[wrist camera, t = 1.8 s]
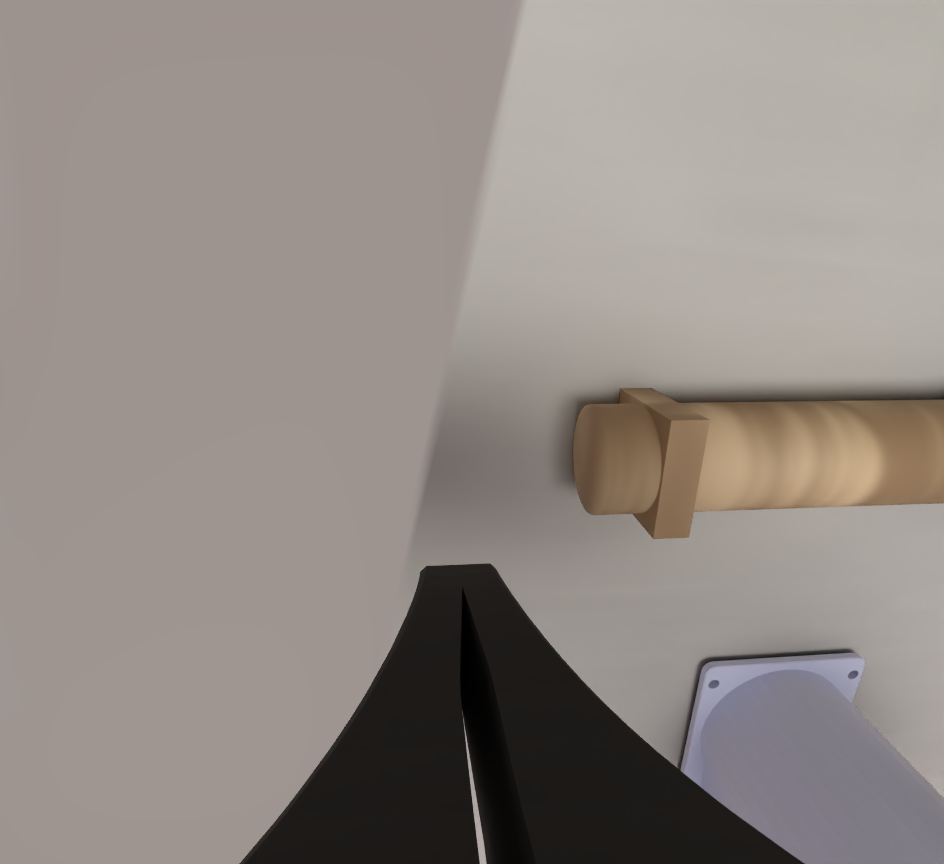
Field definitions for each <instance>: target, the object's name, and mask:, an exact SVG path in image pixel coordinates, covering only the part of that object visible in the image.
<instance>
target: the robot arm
mask: <svg viewBox="0 0 944 864" xmlns="http://www.w3.org/2000/svg"><path fill="white" fill-rule="evenodd" d="M864 667H865V661H864V659H863V658H862V657H861V656H860V655H858V654H857V653H839V654H823V655H807V656H791V657H775V658H759V659H743V660H728V661H712V662H709V663H707V664H705V665H704V666H703V668H702V670H701V675H700V680H699V684H698V689H697V694H696V699H695V703H694V708H693V713H692V718H691V722H690V727H689V732H688V737H687V741H686V746H685V751H684V756H683V760H682V765H681V770H679V769H678V768H677V767H675V766H674V765H673V764H672V763H670V762H669V761H668V760H667V759H665V758H664V757H663V756H662V755H660V754H659V753H658V752H657V751H656V750H655V749H653V748H652V747H651V746H650V745H649V744H648V743H647V742H646V741H644V740H643V739H642V738H641V737H640V736H639V735H638V734H637V733H635V732H634V731H633V730H632V729H631V728H630V727H629V726H628V725H627V724H626V723H625V722H623V721H622V720H621V719H620V718H619V717H618V716H617V715H616V714H615V713H614V712H613V711H612V710H611V709H610V708H609V707H608V706H607V705H606V704H605V703H604V702H603V701H602V700H601V699H600V698H599V697H598V696H597V695H596V694H595V693H594V692H593V691H592V690H591V689H590V688H589V687H588V686H587V685H586V684H585V683H584V682H583V681H582V680H581V679H580V678H579V676H578V675H577V674H576V673H575V672H574V671H573V670H572V669H571V668H570V666H569V665H568V664H567V663H566V662H565V661H564V660H563V659H562V658H561V656H560V655H559V654H558V653H557V652H556V651H555V649H554V648H553V647H552V646H551V645H550V643H549V642H548V641H547V640H546V638H545V637H544V636H543V635H542V633H541V632H540V631H539V630H538V628H537V627H536V626H535V625H534V623H533V622H532V621H531V620H530V618H529V617H528V616H527V614H526V613H525V612H524V610H523V609H522V608H521V606H520V605H519V603H518V602H517V601H516V599H515V598H514V596H513V595H512V594H511V592H510V591H509V589H508V588H507V586H506V585H505V583H504V582H503V580H502V578H501V577H500V575H499V573H498V572H497V570H496V568H494V567H493V566H492V565H491V564H467V565H444V566H426V567H425V568H424V569H423V570H422V571H421V572H420V578H419V582H418V586H417V589H416V592H415V595H414V598H413V601H412V603H411V606H410V608H409V611H408V613H407V616H406V618H405V620H404V622H403V624H402V626H401V629H400V631H399V633H398V635H397V637H396V639H395V641H394V644H393V646H392V648H391V650H390V651H389V653H388V655H387V657H386V659H385V661H384V662H383V664H382V666H381V668H380V670H379V671H378V673H377V675H376V677H375V679H374V681H373V682H372V684H371V686H370V688H369V689H368V691H367V693H366V694H365V696H364V698H363V699H362V701H361V703H360V704H359V706H358V707H357V709H356V711H355V712H354V714H353V715H352V717H351V718H350V720H349V721H348V723H347V724H346V726H345V727H344V729H343V731H342V732H341V734H340V735H339V736H338V738H337V739H336V741H335V743H334V744H333V745H332V747H331V748H330V750H329V751H328V752H327V754H326V755H325V757H324V758H323V759H322V761H321V762H320V764H319V765H318V766H317V767H316V769H315V770H314V771H313V773H312V774H311V776H310V777H309V778H308V780H307V781H306V782H305V784H304V785H303V787H302V788H301V789H300V791H299V792H298V793H297V794H296V796H295V797H294V798H293V800H292V801H291V802H290V804H289V805H288V806H287V807H286V809H285V810H284V811H283V813H282V814H281V815H280V816H279V817H278V819H277V820H276V821H275V823H274V824H273V825H272V826H271V827H270V829H269V830H268V831H267V832H266V833H265V834H264V835H263V837H262V838H261V839H260V840H259V841H258V843H257V844H256V845H255V846H254V847H253V849H252V850H251V851H250V852H249V853H248V855H247V856H246V857H245V858H244V859H243V860H242V862H241V863H240V864H480V863H479V854H478V846H477V838H476V830H475V822H474V813H473V805H472V796H471V787H470V778H469V769H468V760H467V751H466V742H465V732H464V724H465V730H466V736H467V742H468V748H469V754H470V761H471V767H472V773H473V779H474V785H475V791H476V797H477V803H478V809H479V815H480V821H481V827H482V833H483V839H484V846H485V854H486V862H487V864H944V798H943V797H942V796H941V795H940V794H939V793H938V791H937V790H936V789H935V788H934V787H933V786H932V785H931V784H930V783H929V782H928V781H927V780H926V779H925V778H924V777H923V776H922V775H921V774H920V773H919V772H918V771H917V770H916V769H915V768H914V767H913V766H912V765H911V764H910V763H909V762H908V761H907V760H906V759H905V758H904V757H903V756H902V755H901V754H900V753H899V752H898V750H897V749H896V748H895V747H894V746H893V745H892V744H891V743H890V742H889V741H888V740H887V739H886V738H885V737H884V736H883V735H882V734H881V733H880V732H879V731H878V730H877V729H876V728H875V727H874V726H873V725H872V724H871V723H870V722H869V721H868V720H867V719H866V718H865V717H864V716H863V715H862V714H861V713H860V712H859V710H858V709H857V708H856V707H855V706H854V705H853V704H852V701H853V698H854V695H855V693H856V690H857V687H858V684H859V681H860V678H861V675H862V672H863V670H864ZM462 711H463V713H462ZM463 718H464V723H463Z"/></svg>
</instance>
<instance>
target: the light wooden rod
mask: <svg viewBox="0 0 944 864" xmlns="http://www.w3.org/2000/svg"><path fill="white" fill-rule="evenodd" d="M573 467H574V476H575V482H576V487H577V491H578V495H579V498H580V500H581V503H582V505H583V507H584V508H585V510H586V511H587V512H588V513H589V514H591V515H606V514H633V515H634V516H635V517H636V519H637V520H638V521H639V522H640V523H641V525H642V526H643V527H644V528H645V529H646V531H647V532H648V533H649V534H650V535H651V537H652V538H653V539H661V538H687V537H689V534H690V528H691V523H692V517H693V512H695V511H725V510H755V509H784V508H814V507H844V506H873V505H903V504H933V503H944V400H869V401H789V402H709V403H678V402H676V401H674V400H672V399H670V398H669V397H667V396H665V395H663V394H661V393H659V392H657V391H656V390H654V389H652V388H620V396H619V404H587V405H585V406H584V407H583V408H582V410H581V412H580V414H579V416H578V419H577V422H576V427H575V432H574V441H573Z"/></svg>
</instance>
